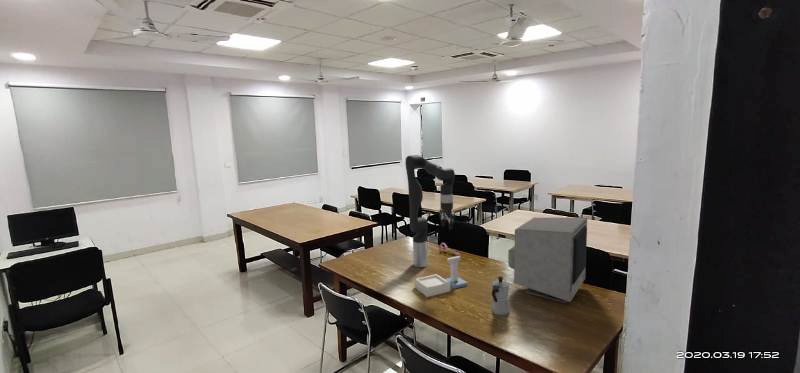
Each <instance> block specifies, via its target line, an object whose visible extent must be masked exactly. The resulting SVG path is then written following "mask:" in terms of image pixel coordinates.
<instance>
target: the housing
mask: <svg viewBox="0 0 800 373" xmlns="http://www.w3.org/2000/svg"><path fill="white" fill-rule="evenodd" d="M445 279H446V278H443V277H442V276H440V275H439V274H431V275H427V276H421V277H417V278H415V279H414V288H415V289H416V290H418V291H419V292H420V293H422V295H424V296H425V297H427V298H428V297H434V296H437V295H441V294H444V293H445V294H446V293H450V292H451V289H450V283H449V282H448V281H446V280H445Z"/></svg>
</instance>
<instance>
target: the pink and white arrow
mask: <svg viewBox="0 0 800 373" xmlns="http://www.w3.org/2000/svg"><path fill="white" fill-rule="evenodd" d="M443 245H444V247H443ZM443 248H444V250H443ZM440 251H441V252H442V251H444V252H450V253H452V254H456V255H457V256H460V257H461V256H462V254H460V252H456V249H453V250H452V249H451V248H448V245H447V244H446V243H445V242H441V243H440ZM444 252H443V253H444Z"/></svg>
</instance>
